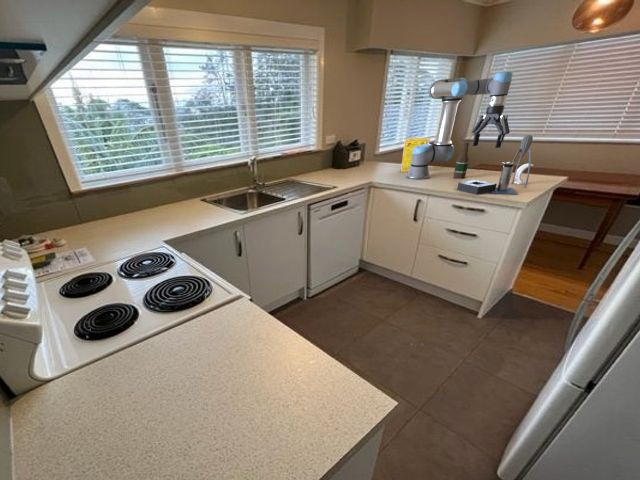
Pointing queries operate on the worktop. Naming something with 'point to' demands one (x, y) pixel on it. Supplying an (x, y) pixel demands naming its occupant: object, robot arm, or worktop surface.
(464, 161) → the beer bottle
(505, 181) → the blade unit
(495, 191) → the mat
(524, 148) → the citrus juicer
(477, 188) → the blender base
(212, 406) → the worktop surface
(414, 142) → the packaging box
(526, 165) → the curved silver pipe
